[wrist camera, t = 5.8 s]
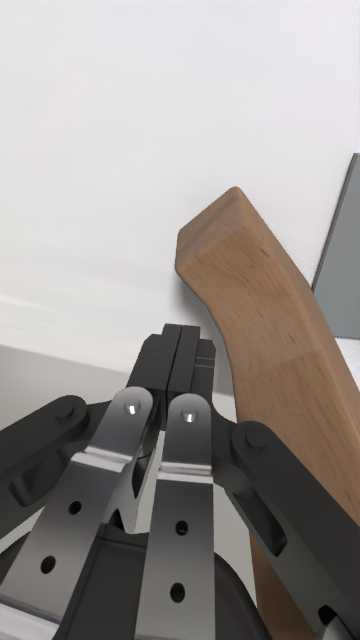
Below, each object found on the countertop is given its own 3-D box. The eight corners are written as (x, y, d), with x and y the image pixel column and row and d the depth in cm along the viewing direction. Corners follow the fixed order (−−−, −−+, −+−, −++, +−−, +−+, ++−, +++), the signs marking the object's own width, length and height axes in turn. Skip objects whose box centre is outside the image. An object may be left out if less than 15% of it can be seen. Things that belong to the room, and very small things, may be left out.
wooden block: (175, 230, 18) (121, 717, 5) (235, 180, 16) (422, 816, 3) (253, 312, 22) (332, 680, 9) (308, 282, 20) (511, 708, 7)
